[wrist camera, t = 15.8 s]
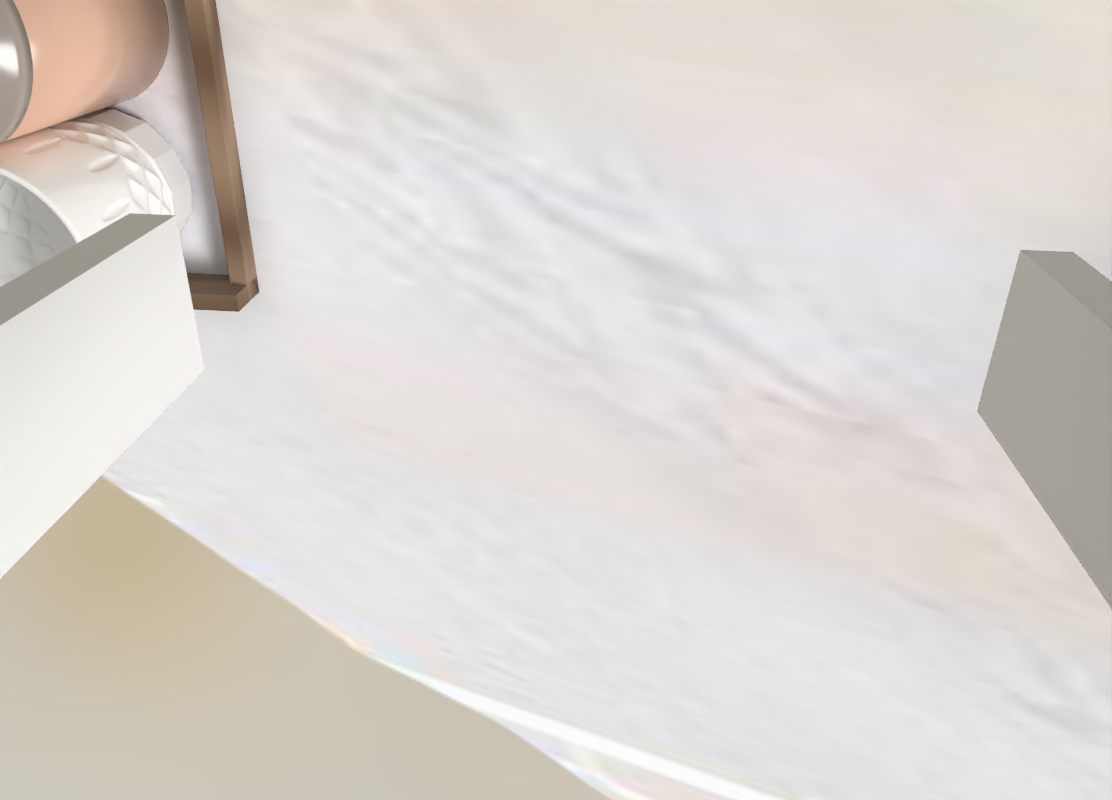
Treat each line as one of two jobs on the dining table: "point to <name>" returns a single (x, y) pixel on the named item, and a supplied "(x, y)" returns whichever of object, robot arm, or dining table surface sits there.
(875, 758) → the dining table surface
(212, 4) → the brown wooden rack
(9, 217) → the white cup
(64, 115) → the terracotta jar
